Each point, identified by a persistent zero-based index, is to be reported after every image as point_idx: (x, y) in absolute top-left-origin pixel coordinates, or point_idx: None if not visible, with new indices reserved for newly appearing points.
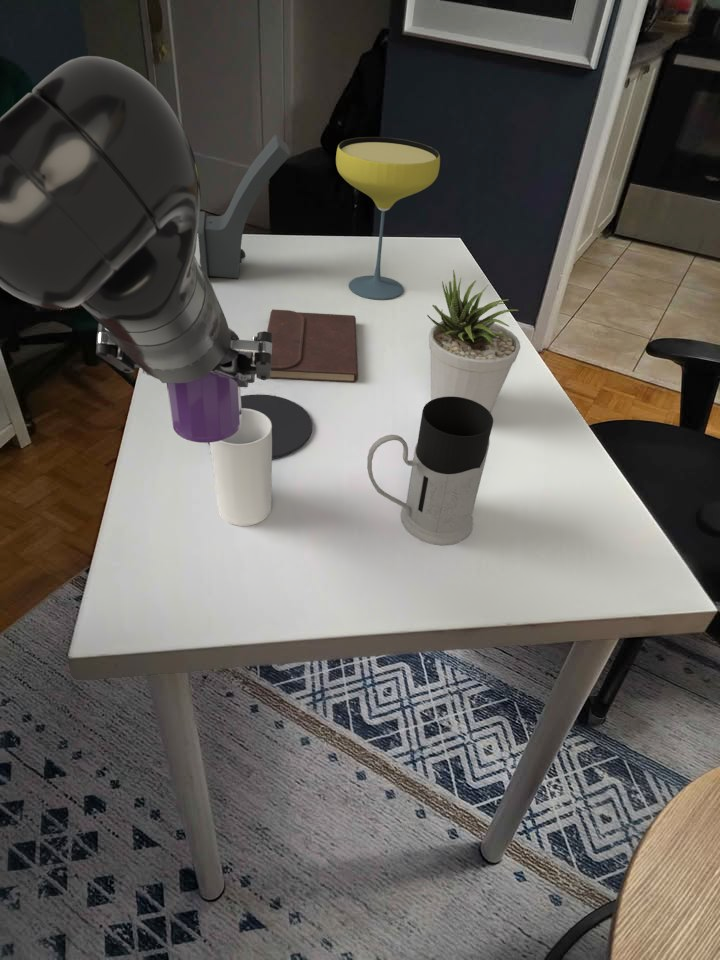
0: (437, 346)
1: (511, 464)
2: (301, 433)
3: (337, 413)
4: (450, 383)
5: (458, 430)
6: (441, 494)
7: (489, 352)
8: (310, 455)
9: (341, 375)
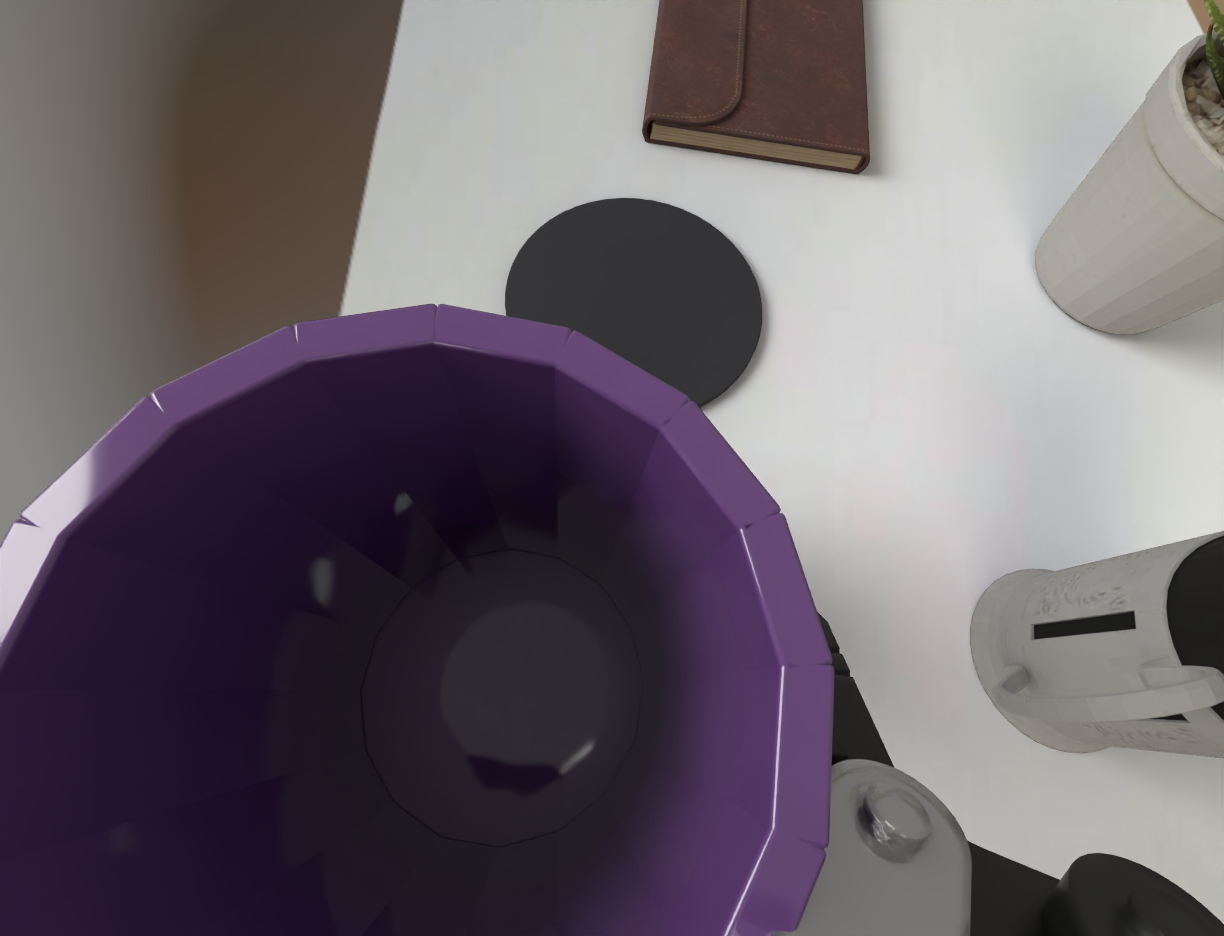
0: (1203, 146)
1: (1221, 477)
2: (737, 339)
3: (817, 272)
4: (1163, 254)
5: None
6: (1195, 750)
7: None
8: (755, 410)
9: (831, 154)
